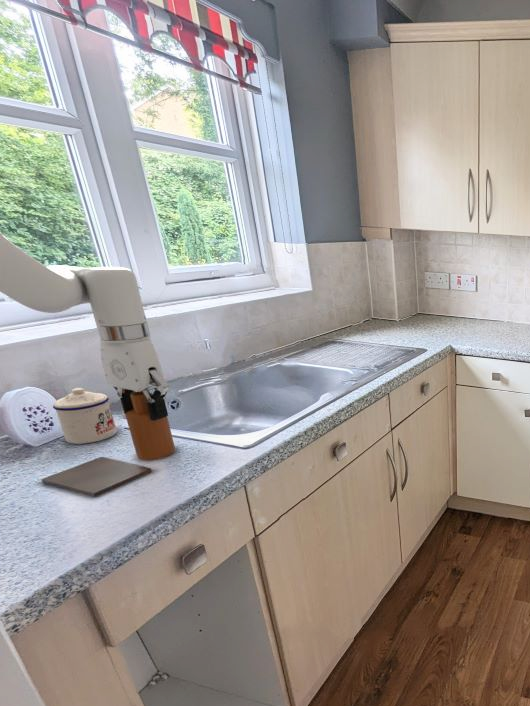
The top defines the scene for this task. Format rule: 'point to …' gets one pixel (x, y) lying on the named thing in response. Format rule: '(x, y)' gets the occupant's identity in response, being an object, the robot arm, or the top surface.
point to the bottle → (148, 431)
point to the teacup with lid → (85, 417)
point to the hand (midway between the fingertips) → (146, 415)
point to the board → (96, 476)
